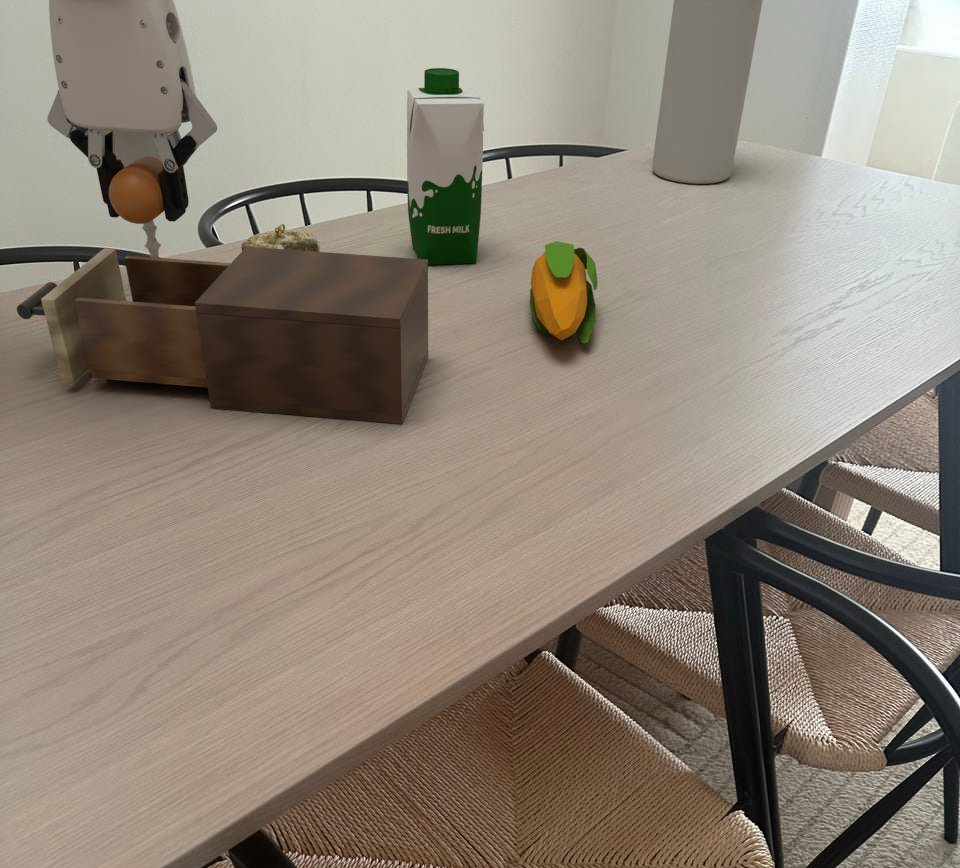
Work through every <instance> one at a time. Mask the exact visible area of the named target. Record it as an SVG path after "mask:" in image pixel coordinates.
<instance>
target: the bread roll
mask: <svg viewBox="0 0 960 868" xmlns="http://www.w3.org/2000/svg"><path fill="white" fill-rule="evenodd" d="M162 171H163V167H162V162H161V160H160V159H158V158H154V157H143V158H140V159H137V160H136V161H134V162H133V163H131V164H130V165H128V166H127V167H125V168H124V169H122V170H121V171H119V172H118V173H117V174H116V175H115V176H114V177H113V178H112V180H111V183H110V186H109V198H110V202H111V204H112V206H113V208H114V210H115V211H116V212H117V214H118V215H119V217H120V218H121V219H123V220H125V221H126V222H129V223H131V224H136V225H144V223H148V222H150V221H152V220H153V221H154V220H155V219H157V217H159V216H160V215H161V214H162V213H165V212H164V206H163V197H162V193H161V188H160V182H159V173H160V172H162Z"/></svg>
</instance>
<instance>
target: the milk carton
mask: <svg viewBox="0 0 960 868" xmlns="http://www.w3.org/2000/svg"><path fill="white" fill-rule="evenodd" d="M423 75H424V79H423V82H424V83H423V87H417V88H407V98H406V176H407V177H406V178H407V179H406V181H407V214H408V216H407V217H408V222H409V229H410V231H409V232H410V239H411V246H412V249H413V251H414V253H415V255H416V257H417V259H425V260H428V266H438V265H440V266H443V265H465V264H467V265H468V264H477V260H478V248H479V240H480V239H479V238H480V230H481V229H480V228H481V217H482V216H481V214H482V193H483V192H482V191H483V165H484V164H483V163H484V132H485V130H484V129H485V124H484V114H485V113H484V111H485V110H484V108H485V103H484V102H483V101H482V99H481V97H480V95H479V94H477V93H476V92H475V91H473V90H472V88H467V87H465V88H461V87H460V72H459V70H457V69H453V68H445V67H433V68H427V69H425V70H424V74H423Z"/></svg>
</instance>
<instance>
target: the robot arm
mask: <svg viewBox="0 0 960 868" xmlns="http://www.w3.org/2000/svg"><path fill="white" fill-rule="evenodd" d="M48 11H49V12H48V13H49V29H50V40H51V47H52V56H53V63H54V70H55V71H54V72H55V76H56V81H57V87H58V91H57V92H56V95H55V98H54V100H53V103H52V105H51V108H50V110H49V112H48V115H47V120H46V121H47V122H48V124H49V125H50V126H51V127H52V128H53V129H54V130H56V131H57V132H59V134H61V135H62V136H64V137H65V138H68V139H69V140H70V142H71V143H72V144H73V146H75V147H76V148H77V149H78V150H79V151H80V152H81V153H82V154H83V155H84V156H85V157H86V158H87V160H88V163H89V165H90V166H91V167H93V168H94V169H96V172H97V178H98V183H99V187H100V193H101V197H102V201H103V203H104V204H106V206H107V211H108V215H109V217H110V218H114V219H115V218H119V217H120V216H119V215H118V214H117V212H116V211H115V210H114V208H113V206H112V204H111V202H110V198H109V186H110V183H111V180H112V178H113V177H114V176H115V175H116V174H117V173H118V172H119V171H121V170H122V169H124V165H123V163H121V160H117V159H116V155H115V133H116V131H128V132H145V133H151V135H152V138H153V140H154V143H155V146H156V148H157V151H158V154H159V156H160V159H161V162H162V167H163V171H162V172H160V173H159V182H160V188H161V193H162V197H163V206H164V212H163V213H164V217H165V220H167V221H168V222H174V223H175V222H176V221H178V220H179V219H180V218H181V217H182V216H184V215H185V214H186V212H187V208H188V207H189V203H190V202H189V193H188V186H187V181H186V175H185V174H186V173H185V167H184V166H185V165H187V163H188V161H189V160H190V158H191V157H192V156H193V154H194V153H195V152H196V151H197V149H198V148H199V147H200V146H202V145H203V143H205V142H206V141H207V140H208V139H210V138H211V137H212V136H213V135H214V134H215V133H216V132H217V131H218V125H217V123H216V121H215V120H214V119H213V117H212V116H211V114H210V113H209V112H208V110H207V109H206V108H205V107H204V105H203V104H202V102H201V101H200V100H199V98H198V97H197V93H196V88H195V87H196V86H195V82H194V78H193V72H192V66H191V61H190V59H189V53H188V49H187V48H188V47H187V44H186V40H185V36H184V32H183V29H182V25H181V22H180V18H179V14H178V10H177V8H176V4H175V1H174V0H48ZM188 122H190V123H191V130H190V131H189V132H187V133H186V134H185V135H184V136H183V137H182V136H181V134H180V130H179V129H180V128H181V126H182V124H184V123H188Z"/></svg>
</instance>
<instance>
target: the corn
mask: <svg viewBox="0 0 960 868" xmlns="http://www.w3.org/2000/svg"><path fill="white" fill-rule="evenodd" d="M532 266H533V267H532V269H531V277H530V290H529V291H530V292H529V307H530V312H531V313H530V314H531V316H532V319H533V321H534V323H535V325H536V327H537V328H538V329H539V330H540V331H541V332H542V333H544V334H547V333H548V334H550V335H552V336H553V337H555V338H557V339H558V340H560V341H563V340H565V339H567V338H569V337H571V336H573V335H574V334H575V333H576V332H577V335H578V338H579V341H580V342H581V343H582V344H587V343H588V342H589V340H590V338H591V335H592V332H593V329H594V326H595V324H596V302H595V296H594V291H596V290H597V289H598V275H597V268H596V262H595V260H594V259H593V258H592V256H590V254H589V253H588V251H586V249H585V248H583V247H577V248H575V245H574V244H573V243H567V242H562V241H557V240H556V241H552V242H550V243H547V244H544V252H543V253H541V254H540V255H539V256H538V257H537V258H536V259H535V262H534V263H533V265H532ZM587 276H588V277H589V278H588V279H589V280H590V282H591V283H590V282H589V280H588V279H587Z"/></svg>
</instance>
